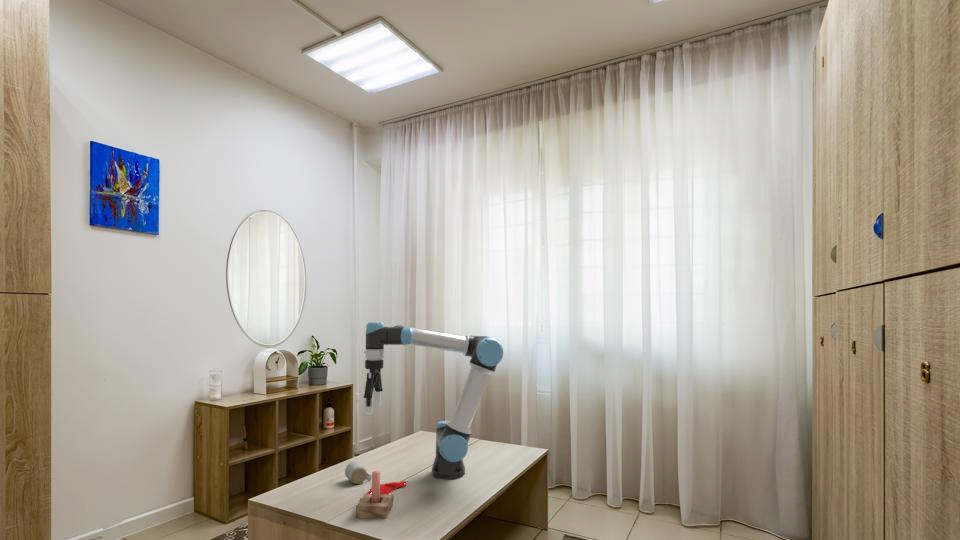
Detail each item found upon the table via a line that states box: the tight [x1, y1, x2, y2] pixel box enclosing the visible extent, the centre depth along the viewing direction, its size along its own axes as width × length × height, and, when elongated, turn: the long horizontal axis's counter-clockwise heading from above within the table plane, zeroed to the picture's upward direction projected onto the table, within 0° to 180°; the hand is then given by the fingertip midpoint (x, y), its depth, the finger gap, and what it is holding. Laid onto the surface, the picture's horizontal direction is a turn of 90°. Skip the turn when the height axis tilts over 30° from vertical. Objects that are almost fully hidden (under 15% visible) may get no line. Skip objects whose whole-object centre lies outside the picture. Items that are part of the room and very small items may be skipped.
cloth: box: [359, 480, 409, 501], centre depth 196 cm, size 26×14×2 cm, turn 131°
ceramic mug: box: [344, 460, 372, 485], centre depth 206 cm, size 11×8×8 cm
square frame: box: [355, 493, 395, 519], centre depth 176 cm, size 11×11×4 cm
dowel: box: [371, 470, 381, 503], centre depth 176 cm, size 3×3×14 cm
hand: (373, 410), depth 199 cm, fingers open, 13 cm apart
